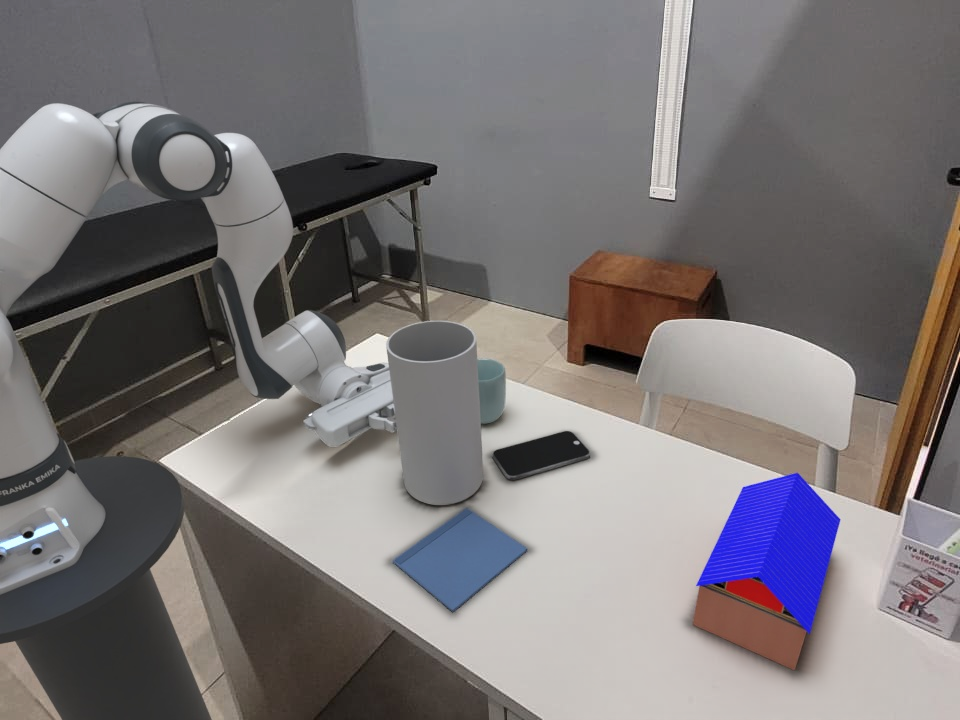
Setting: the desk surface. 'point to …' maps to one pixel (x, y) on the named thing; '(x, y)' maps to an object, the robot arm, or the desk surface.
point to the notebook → (459, 558)
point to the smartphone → (540, 455)
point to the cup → (491, 389)
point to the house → (768, 568)
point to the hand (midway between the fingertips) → (398, 425)
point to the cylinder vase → (437, 410)
